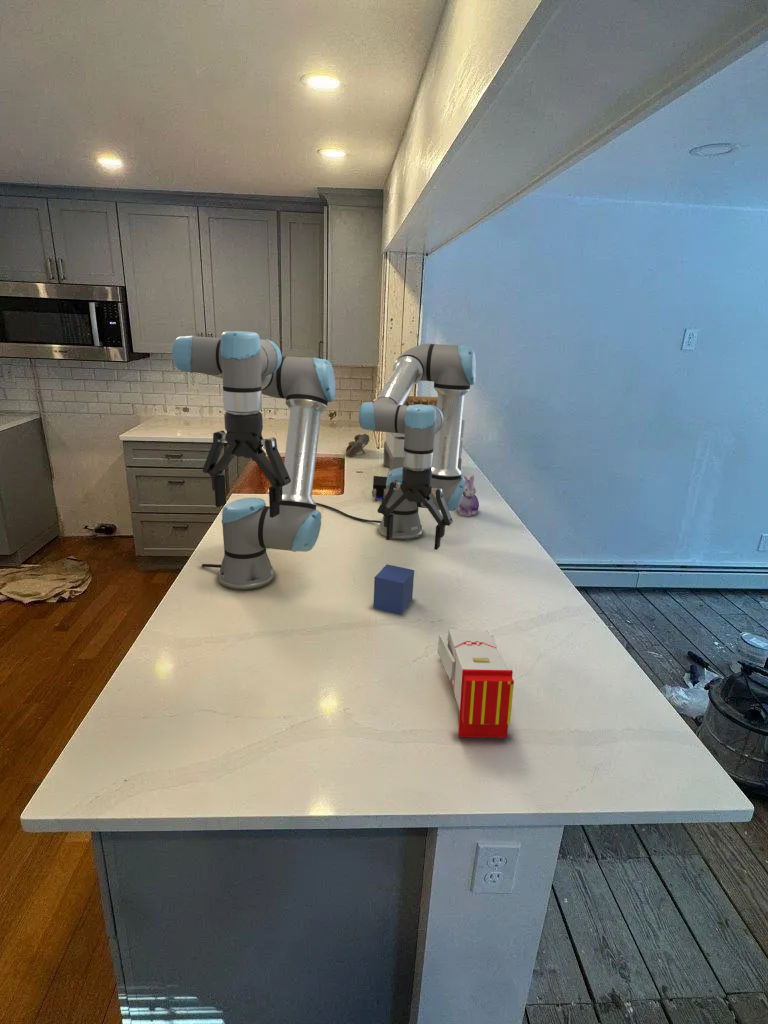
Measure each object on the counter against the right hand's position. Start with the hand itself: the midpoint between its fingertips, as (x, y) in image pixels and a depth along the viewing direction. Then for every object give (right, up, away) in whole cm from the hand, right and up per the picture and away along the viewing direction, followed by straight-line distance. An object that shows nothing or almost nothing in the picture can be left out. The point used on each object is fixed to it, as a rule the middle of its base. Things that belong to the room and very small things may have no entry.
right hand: (412, 543), depth 152 cm
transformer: (+10, +27, +123) cm, 126 cm away
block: (-5, -17, 0) cm, 17 cm away
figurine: (+25, +8, +72) cm, 77 cm away
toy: (+10, -29, -33) cm, 46 cm away
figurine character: (-10, +14, +85) cm, 87 cm away
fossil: (-22, +40, +155) cm, 162 cm away
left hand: (-37, +9, -30) cm, 49 cm away
